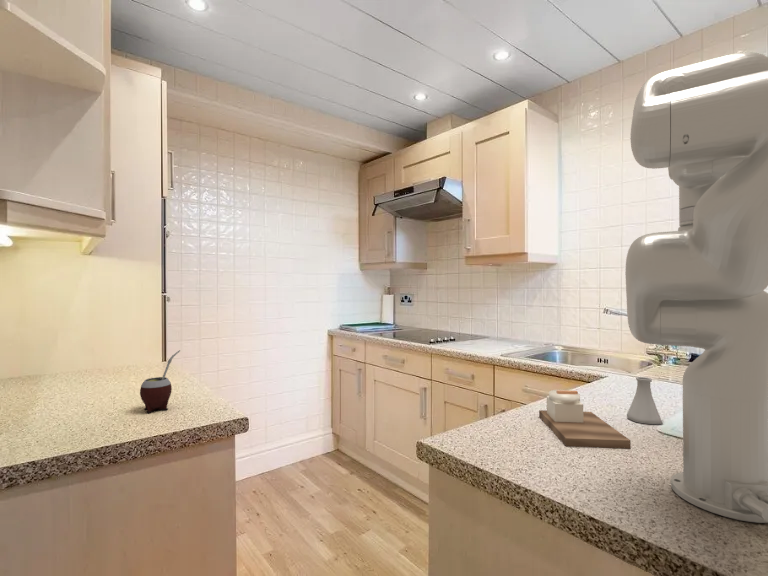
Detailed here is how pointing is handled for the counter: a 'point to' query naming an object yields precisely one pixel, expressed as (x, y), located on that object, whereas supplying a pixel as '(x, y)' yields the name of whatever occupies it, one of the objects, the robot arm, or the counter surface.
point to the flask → (644, 404)
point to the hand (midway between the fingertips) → (703, 302)
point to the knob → (564, 406)
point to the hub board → (586, 432)
